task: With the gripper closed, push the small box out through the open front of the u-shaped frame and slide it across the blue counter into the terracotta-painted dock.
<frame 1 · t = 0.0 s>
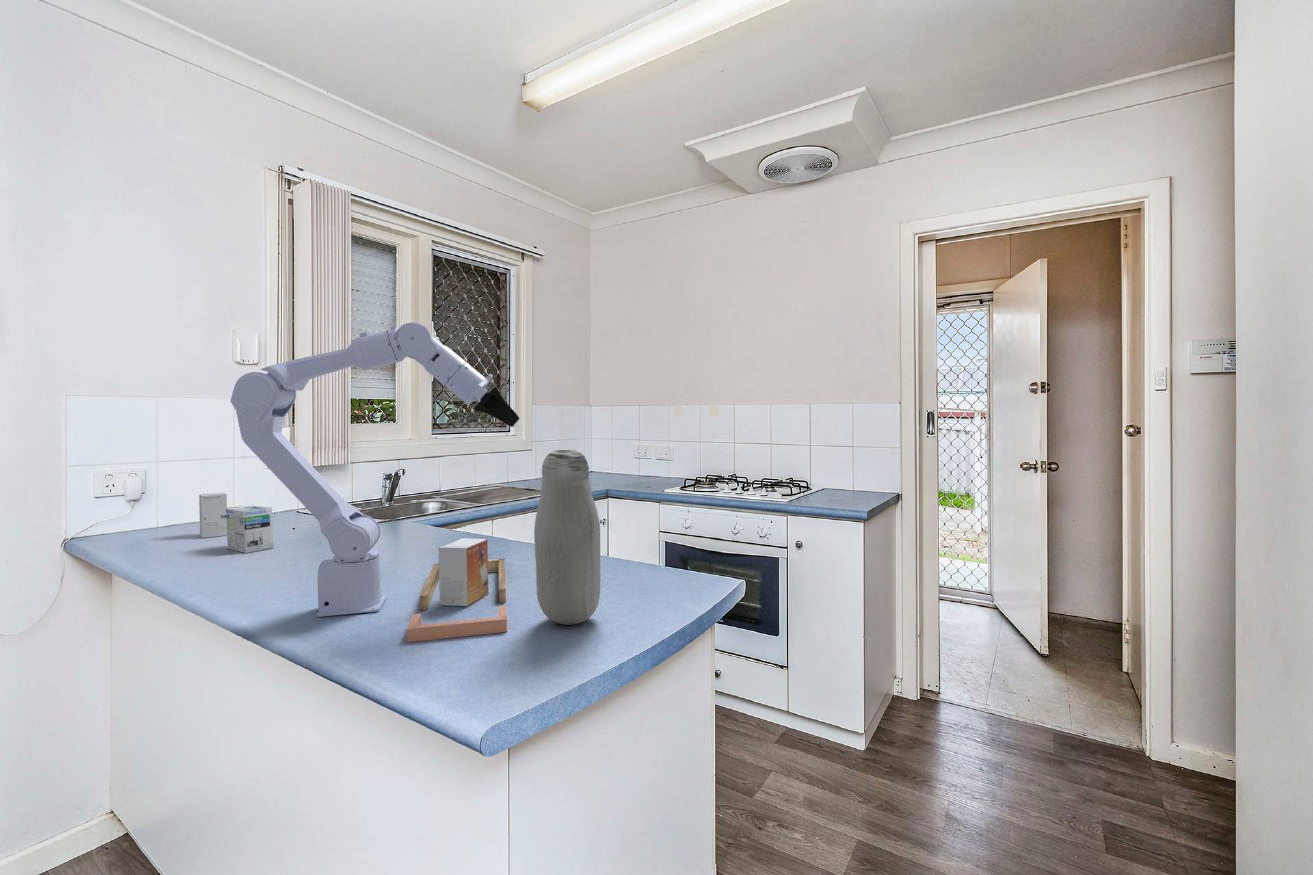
hand: (515, 422, 108), 32 cm above the table, tool tilted 50°, fingers open, 7 cm apart
u-shaped frame: (467, 588, 113), on the table
skincare box: (214, 536, 166), on the table
small box: (465, 600, 106), on the table
grey bottle: (569, 622, 94), on the table
dock: (459, 628, 91), on the table
light bulb box: (250, 549, 149), on the table
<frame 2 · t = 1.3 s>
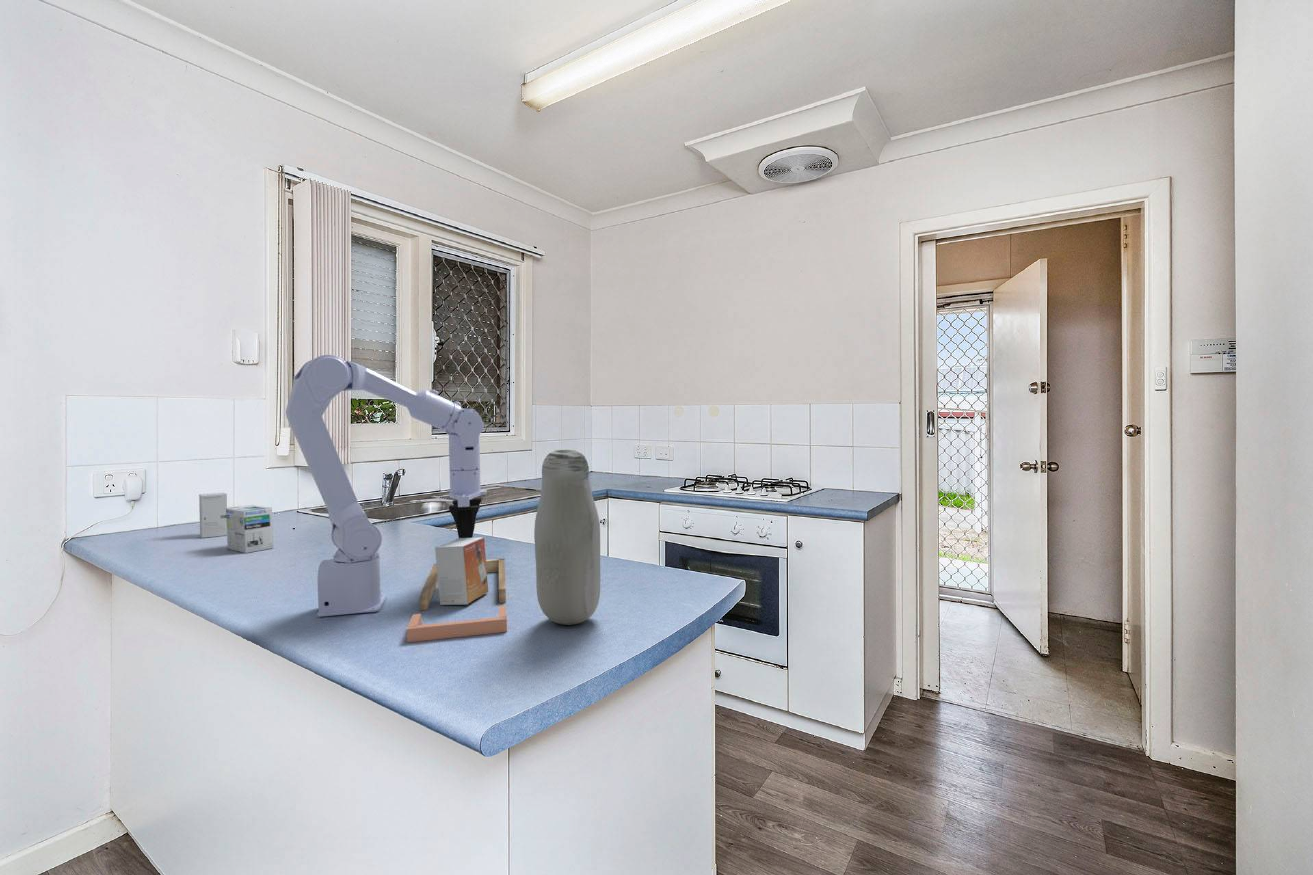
hand: (466, 537, 114), 9 cm above the table, tool pointing down, fingers open, 6 cm apart
small box: (465, 599, 106), on the table, touching gripper
everything else where it was.
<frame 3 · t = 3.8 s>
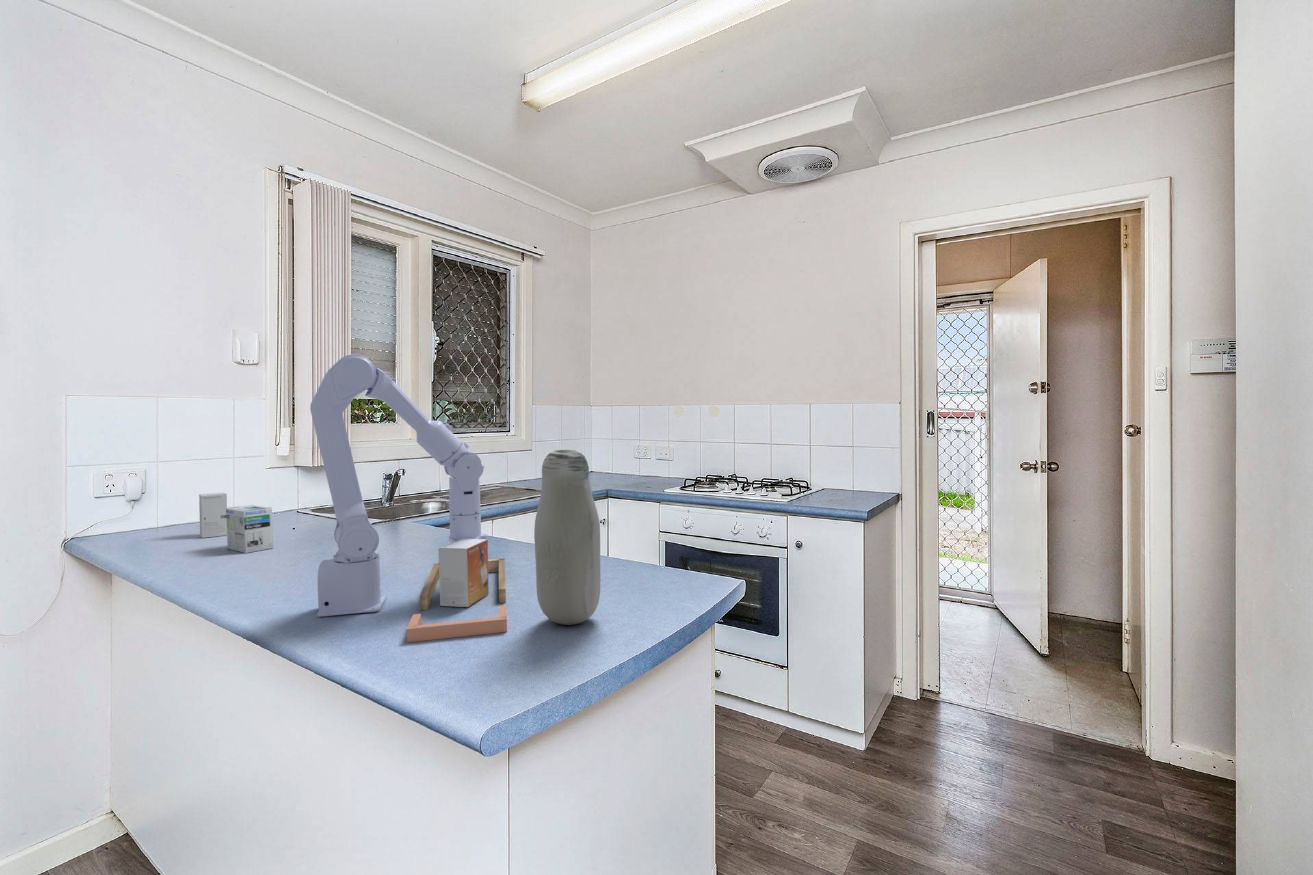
hand: (467, 582, 112), 1 cm above the table, tool pointing down, fingers closed
small box: (465, 601, 105), on the table, touching gripper
everything else where it was.
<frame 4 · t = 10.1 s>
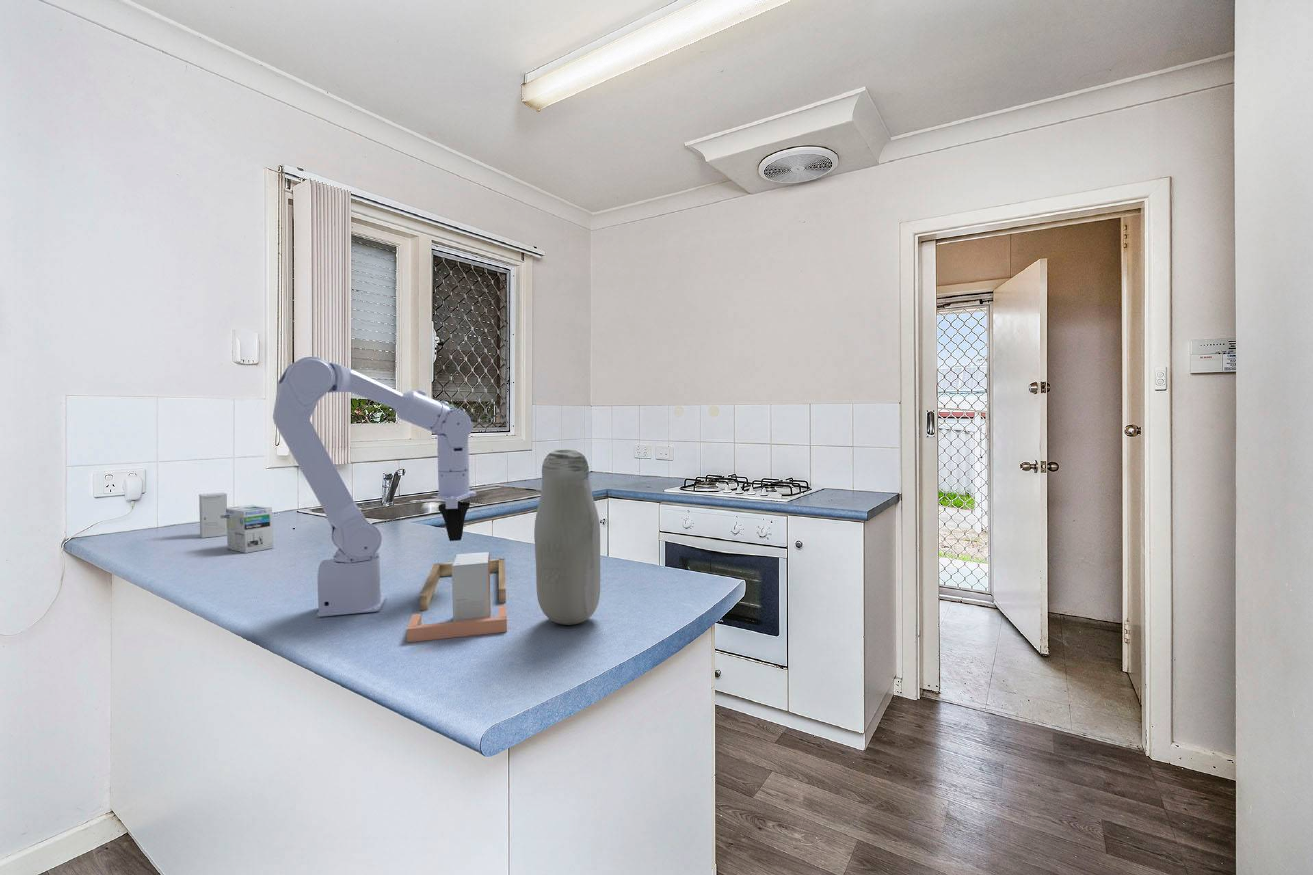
hand: (455, 540, 113), 9 cm above the table, tool pointing down, fingers closed
small box: (473, 622, 94), on the table
everything else where it was.
at the end: small box inside the target area (2.1 cm from its centre), on the table; small box tilted 0°; small box moved 12.5 cm from its start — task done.
